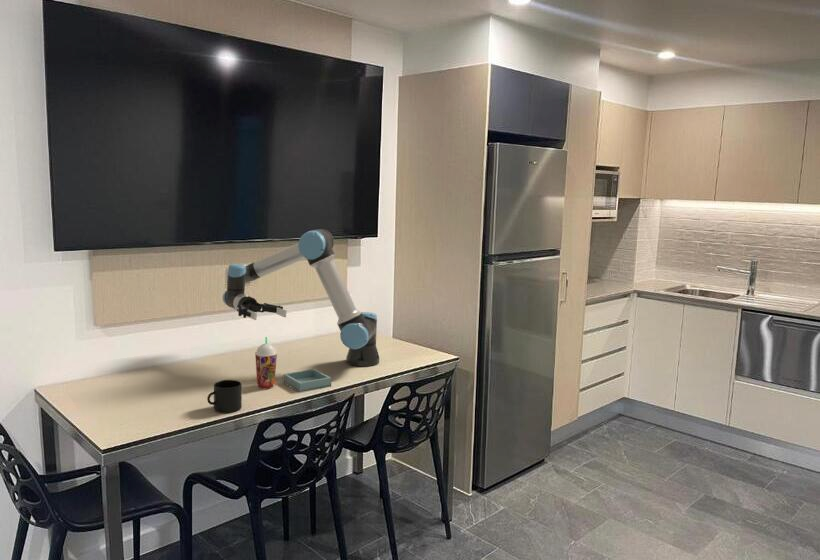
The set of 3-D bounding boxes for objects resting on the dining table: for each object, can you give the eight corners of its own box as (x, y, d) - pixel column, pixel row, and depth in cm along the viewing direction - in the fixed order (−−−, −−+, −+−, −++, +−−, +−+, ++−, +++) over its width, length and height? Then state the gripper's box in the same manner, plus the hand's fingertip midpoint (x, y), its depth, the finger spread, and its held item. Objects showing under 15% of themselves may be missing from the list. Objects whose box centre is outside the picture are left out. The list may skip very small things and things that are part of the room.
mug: (202, 408, 220) (202, 383, 218) (235, 402, 227) (235, 378, 226) (212, 416, 212) (212, 391, 211) (245, 410, 220) (245, 385, 218)
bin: (313, 376, 260) (313, 368, 259) (331, 386, 249) (331, 377, 249) (283, 382, 251) (283, 374, 251) (300, 392, 240) (300, 383, 240)
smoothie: (271, 390, 241) (272, 340, 238) (251, 388, 242) (251, 338, 239) (280, 384, 249) (280, 335, 246) (260, 382, 250) (260, 333, 247)
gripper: (271, 310, 277) (296, 321, 262) (218, 315, 260) (242, 327, 245) (272, 294, 276) (297, 304, 261) (218, 297, 259) (243, 308, 244)
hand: (270, 315), depth 253 cm, fingers open, 13 cm apart
